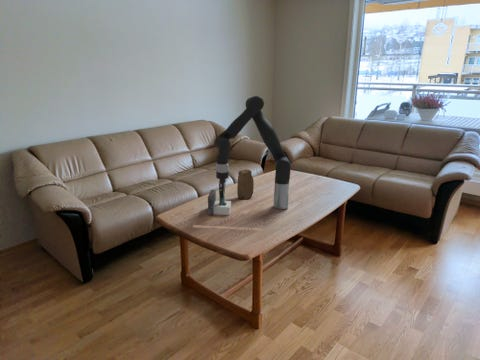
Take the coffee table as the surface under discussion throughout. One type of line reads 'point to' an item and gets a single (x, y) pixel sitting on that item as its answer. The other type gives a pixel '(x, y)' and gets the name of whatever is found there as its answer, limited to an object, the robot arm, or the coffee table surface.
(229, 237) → the coffee table surface
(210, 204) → the jig
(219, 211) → the socket
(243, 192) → the brown rounded block
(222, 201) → the dowel
